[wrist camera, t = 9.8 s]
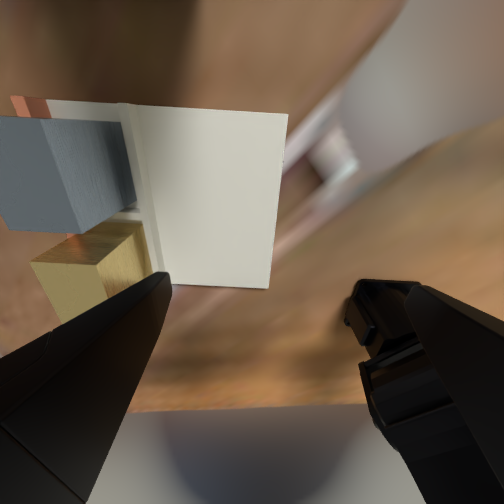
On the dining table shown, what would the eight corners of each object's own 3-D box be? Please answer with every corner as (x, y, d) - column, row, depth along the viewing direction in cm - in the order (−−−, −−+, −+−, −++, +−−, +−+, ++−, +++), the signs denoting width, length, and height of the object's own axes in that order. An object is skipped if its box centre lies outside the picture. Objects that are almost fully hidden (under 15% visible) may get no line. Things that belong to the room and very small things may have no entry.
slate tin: (120, 121, 15) (39, 118, 9) (137, 200, 18) (81, 234, 12) (59, 118, 15) (-59, 112, 9) (85, 197, 18) (6, 230, 12)
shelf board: (286, 114, 16) (291, 112, 13) (267, 282, 23) (269, 299, 21) (45, 100, 15) (9, 95, 13) (105, 274, 23) (89, 290, 21)
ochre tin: (143, 223, 19) (96, 265, 13) (154, 275, 22) (118, 328, 16) (95, 221, 19) (26, 261, 13) (112, 273, 22) (61, 325, 16)
